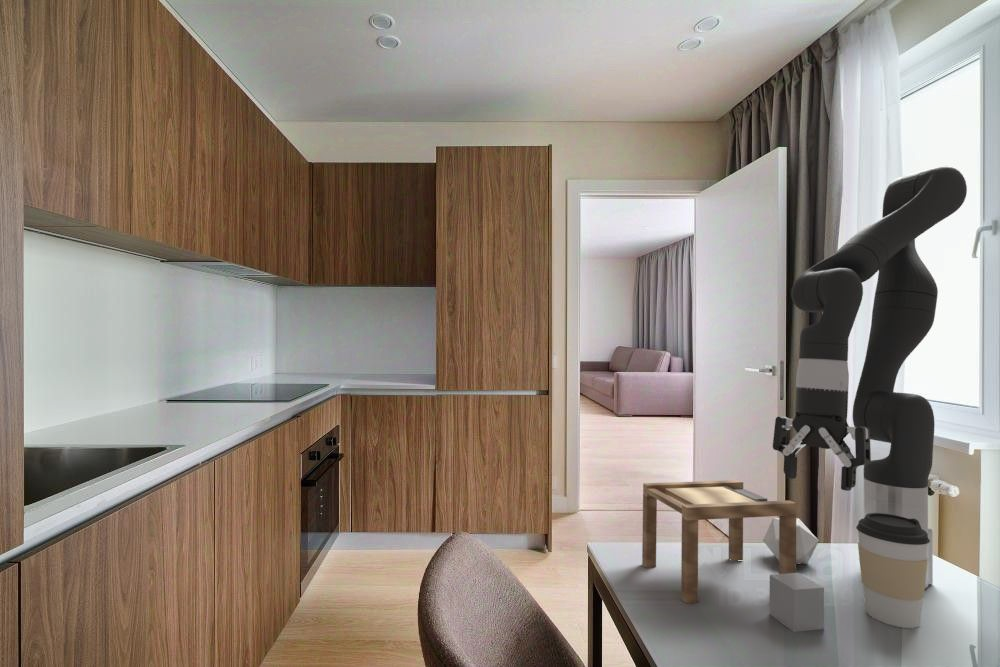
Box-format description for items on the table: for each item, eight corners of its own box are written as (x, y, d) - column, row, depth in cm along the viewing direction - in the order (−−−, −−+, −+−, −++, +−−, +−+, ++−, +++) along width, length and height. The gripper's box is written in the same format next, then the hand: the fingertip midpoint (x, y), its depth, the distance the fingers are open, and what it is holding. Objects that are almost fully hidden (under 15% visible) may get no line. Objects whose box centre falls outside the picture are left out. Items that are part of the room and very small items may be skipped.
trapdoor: (698, 523, 85) (698, 505, 85) (664, 503, 96) (664, 487, 96) (777, 519, 88) (777, 502, 88) (736, 500, 99) (736, 485, 99)
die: (815, 578, 94) (832, 530, 97) (770, 550, 95) (789, 504, 99) (791, 575, 101) (807, 531, 105) (750, 550, 103) (767, 507, 106)
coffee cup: (864, 623, 77) (864, 521, 77) (849, 597, 85) (849, 505, 86) (940, 637, 73) (940, 530, 74) (917, 608, 82) (916, 512, 82)
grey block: (797, 611, 80) (798, 572, 80) (824, 629, 75) (824, 587, 75) (769, 614, 79) (769, 574, 79) (794, 632, 74) (794, 589, 74)
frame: (737, 558, 101) (738, 480, 101) (796, 594, 86) (796, 503, 86) (642, 564, 97) (643, 483, 97) (686, 603, 82) (687, 507, 82)
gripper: (879, 391, 84) (876, 492, 83) (789, 384, 96) (785, 473, 95) (860, 390, 80) (856, 496, 79) (768, 382, 91) (763, 475, 90)
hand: (817, 483), depth 87 cm, fingers open, 8 cm apart
